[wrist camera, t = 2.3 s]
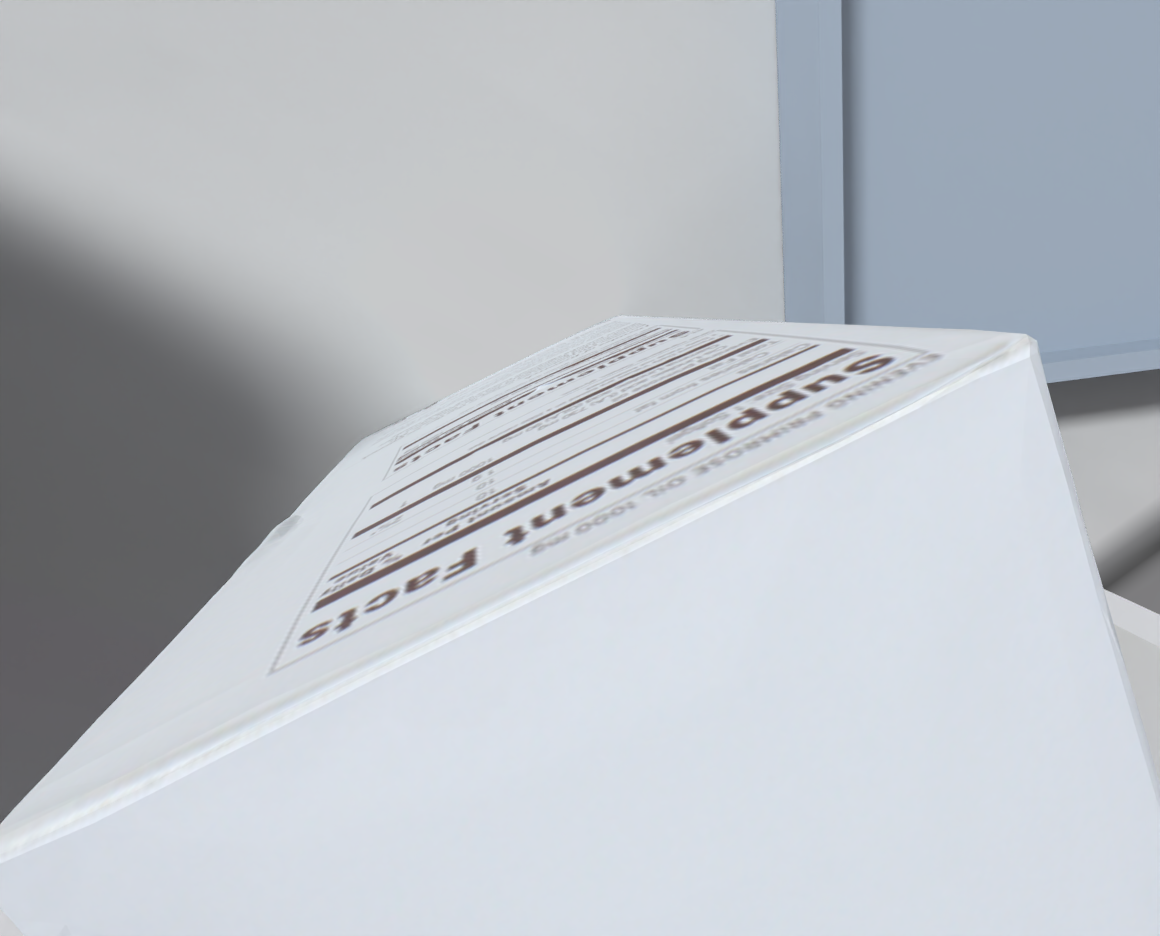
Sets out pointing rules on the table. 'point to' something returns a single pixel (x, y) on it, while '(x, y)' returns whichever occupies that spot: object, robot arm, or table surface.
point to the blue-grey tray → (976, 171)
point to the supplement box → (641, 670)
